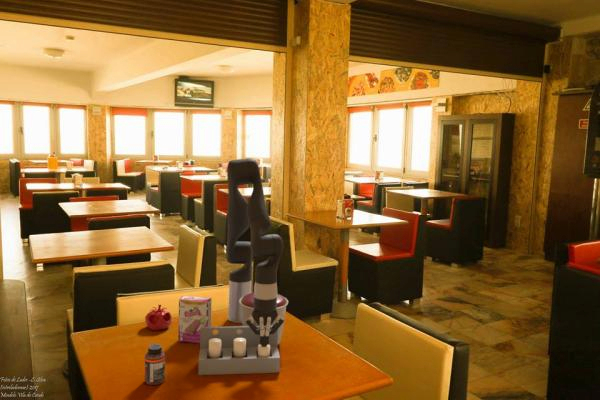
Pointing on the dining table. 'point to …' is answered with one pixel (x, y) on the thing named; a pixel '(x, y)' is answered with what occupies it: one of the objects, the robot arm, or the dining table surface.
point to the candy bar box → (193, 317)
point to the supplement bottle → (154, 365)
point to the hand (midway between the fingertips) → (264, 345)
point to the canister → (248, 308)
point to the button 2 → (263, 351)
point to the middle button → (239, 347)
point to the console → (227, 360)
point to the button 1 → (214, 348)
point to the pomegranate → (158, 319)
